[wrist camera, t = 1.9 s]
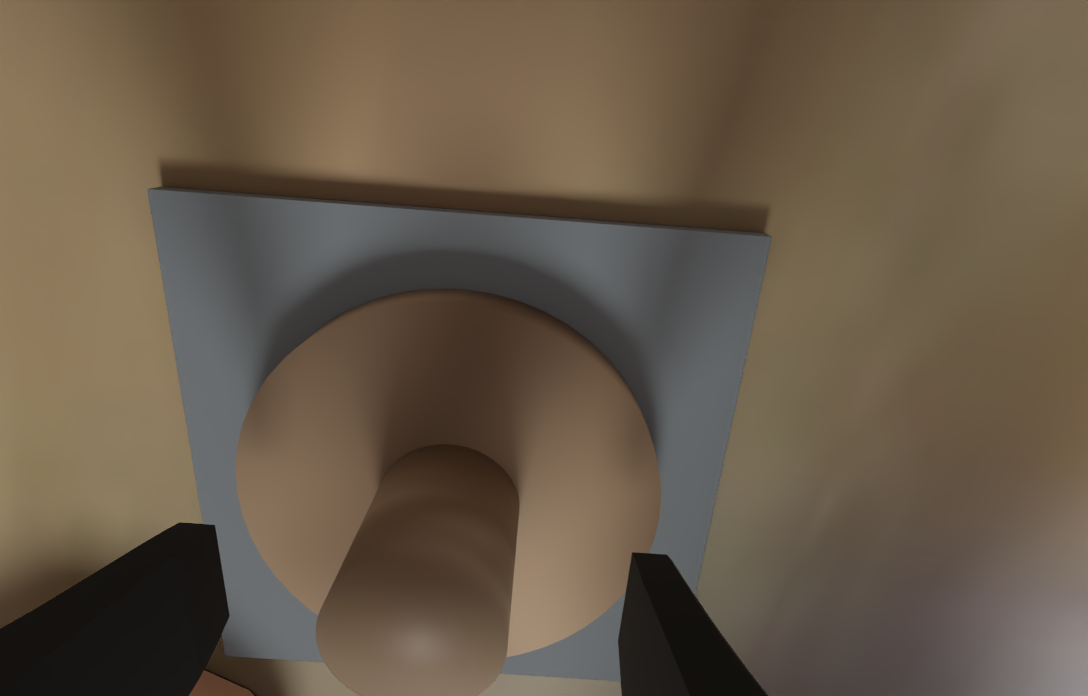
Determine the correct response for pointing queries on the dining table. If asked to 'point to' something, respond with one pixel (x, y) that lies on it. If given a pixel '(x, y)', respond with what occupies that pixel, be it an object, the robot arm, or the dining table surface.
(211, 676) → the bowl
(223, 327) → the mat
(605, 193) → the dining table surface
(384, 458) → the lid
